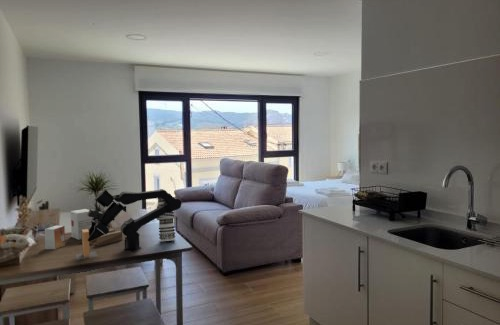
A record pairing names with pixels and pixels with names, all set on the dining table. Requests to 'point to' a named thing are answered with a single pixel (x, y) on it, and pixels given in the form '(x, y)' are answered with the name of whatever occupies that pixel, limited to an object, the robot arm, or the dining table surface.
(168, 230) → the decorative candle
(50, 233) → the small box
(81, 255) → the mat
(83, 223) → the supplement box
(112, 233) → the rack
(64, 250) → the dining table surface
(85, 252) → the rectangular block
